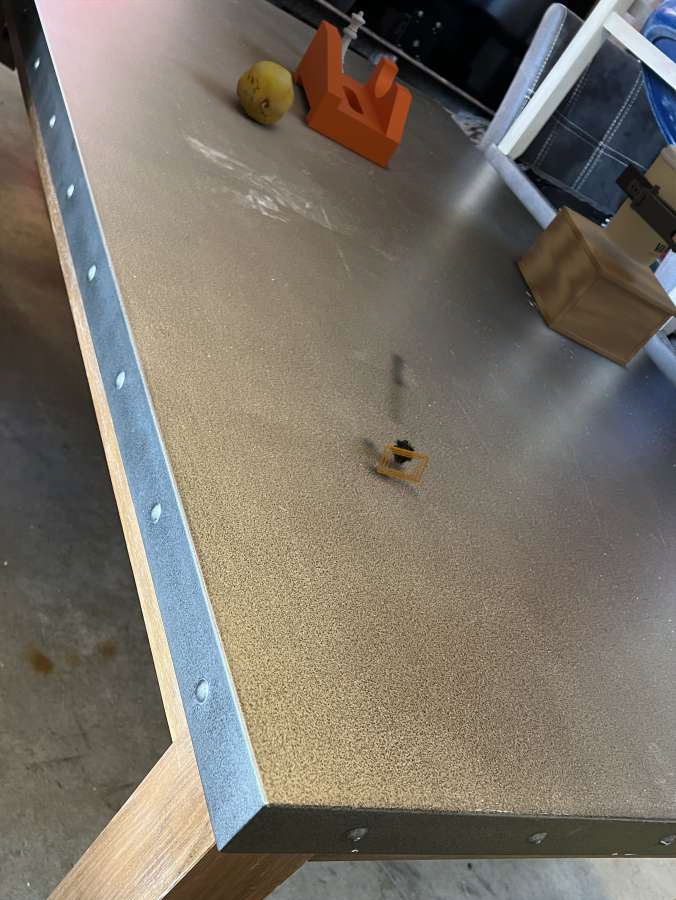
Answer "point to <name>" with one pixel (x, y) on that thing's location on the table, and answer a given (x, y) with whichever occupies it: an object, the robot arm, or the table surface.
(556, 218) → the chest
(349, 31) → the chess piece
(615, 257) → the lid
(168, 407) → the table surface
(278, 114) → the fruit
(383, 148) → the tape dispenser
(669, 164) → the coffee cup
